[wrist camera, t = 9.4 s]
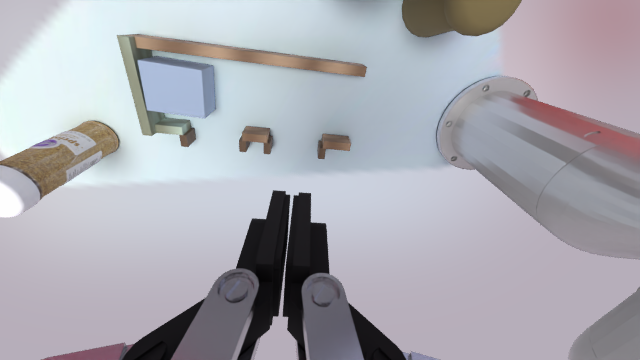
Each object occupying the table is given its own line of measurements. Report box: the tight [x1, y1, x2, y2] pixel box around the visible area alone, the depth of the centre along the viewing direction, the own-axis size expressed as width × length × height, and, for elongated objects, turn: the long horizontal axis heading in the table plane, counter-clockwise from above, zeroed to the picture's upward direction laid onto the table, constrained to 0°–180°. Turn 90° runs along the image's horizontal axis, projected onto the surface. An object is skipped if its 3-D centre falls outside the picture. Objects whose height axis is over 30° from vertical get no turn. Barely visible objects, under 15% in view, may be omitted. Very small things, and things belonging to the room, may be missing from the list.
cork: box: [402, 0, 522, 37], centre depth 22 cm, size 6×6×11 cm
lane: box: [117, 34, 367, 159], centre depth 29 cm, size 24×12×4 cm, turn 83°
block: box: [138, 56, 216, 118], centre depth 28 cm, size 6×5×4 cm
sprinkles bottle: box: [0, 121, 119, 217], centre depth 26 cm, size 5×5×14 cm
